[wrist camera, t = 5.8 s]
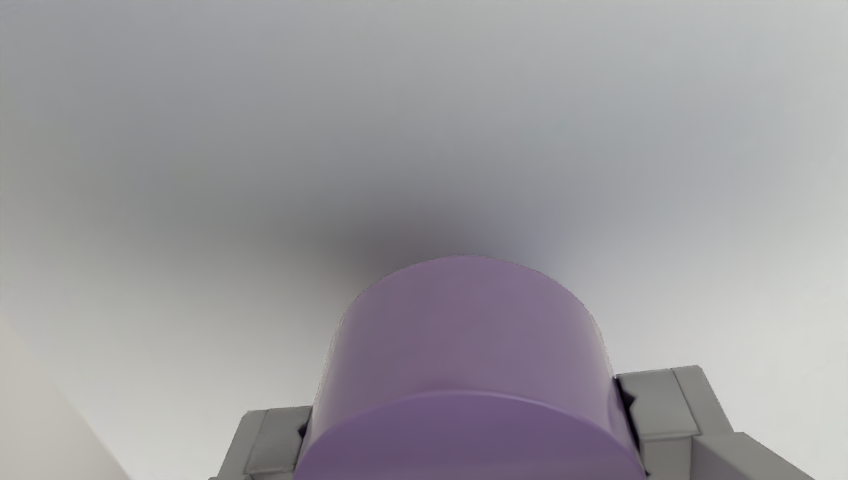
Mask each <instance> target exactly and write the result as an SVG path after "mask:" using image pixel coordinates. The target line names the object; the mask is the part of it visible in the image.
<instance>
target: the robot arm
mask: <svg viewBox="0 0 848 480" xmlns="http://www.w3.org/2000/svg"><path fill="white" fill-rule="evenodd" d="M616 382H617V385H618V388H619V391H620V395H621V398H622V401H623V404H624V407H625V410H626V413H627V416H628V420H629V423H630V426H631V429H632V432H633V436H634V439H635V442H636V445H637V448H638V451H639V455H640V458H641V461H642V464H643V467H644V470H645V473H646V477H647V480H815V479H813V478H812V477H810V476H809V475H807V474H806V473H804V472H803V471H801V470H800V469H798V468H797V467H795V466H794V465H792V464H791V463H789V462H788V461H786V460H785V459H783V458H782V457H780V456H779V455H777V454H776V453H774V452H773V451H771V450H770V449H768V448H767V447H765V446H764V445H762V444H761V443H759V442H758V441H756V440H755V439H753V438H752V437H750V436H749V435H747V434H746V433H744V432H734V430H733V428H732V427H731V425H730V423H729V421H728V419H727V417H726V415H725V413H724V411H723V409H722V407H721V405H720V403H719V401H718V399H717V397H716V395H715V393H714V391H713V390H712V388H711V386H710V384H709V382H708V380H707V378H706V376H705V374H704V372H703V370H702V368H700V367H699V366H698V365H694V366H686V367H677V368H670V369H659V370H650V371H641V372H632V373H623V374H616ZM312 408H313V406H301V407H288V408H275V409H268V410H254V411H248V412H247V413H246V414H245V415H243V417H242V419H241V421H240V424H239V426H238V428H237V431H236V433H235V435H234V438H233V440H232V443H231V445H230V447H229V450H228V452H227V454H226V457H225V459H224V462H223V464H222V466H221V469H220V471H219V473H218V476H217V477H210V478H209V479H208V480H292V479H293V474H294V471H295V467H296V464H297V460H298V457H299V453H300V450H301V446H302V443H303V439H304V436H305V432H306V429H307V425H308V422H309V418H310V415H311V411H312Z"/></svg>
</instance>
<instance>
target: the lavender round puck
mask: <svg viewBox="0 0 848 480" xmlns="http://www.w3.org/2000/svg"><path fill="white" fill-rule="evenodd" d="M292 480H647V477H646V473H645V470H644V467H643V464H642V461H641V458H640V455H639V451H638V448H637V445H636V442H635V439H634V436H633V432H632V429H631V426H630V423H629V420H628V416H627V413H626V410H625V407H624V404H623V401H622V398H621V395H620V391H619V388H618V385H617V382H616V378H615V375H614V372H613V369H612V366H611V363H610V359H609V356H608V353H607V350H606V347H605V344H604V341H603V338H602V335H601V332H600V329H599V327H598V325H597V323H596V322H595V320H594V318H593V316H592V315H591V314H590V312H589V311H588V310H587V308H586V307H585V306H584V304H583V303H582V302H581V301H580V300H579V299H578V298H577V297H575V296H574V295H573V294H572V293H571V292H570V291H569V290H567V289H566V288H565V287H563V286H562V285H560V284H559V283H558V282H556V281H555V280H553V279H551V278H549V277H547V276H545V275H544V274H542V273H540V272H538V271H535V270H533V269H530V268H527V267H525V266H522V265H519V264H515V263H511V262H508V261H504V260H499V259H495V258H491V257H484V256H476V255H457V256H447V257H442V258H436V259H432V260H429V261H425V262H421V263H417V264H414V265H411V266H408V267H405V268H402V269H400V270H398V271H396V272H394V273H391V274H389V275H387V276H386V277H384V278H382V279H381V280H379V281H377V282H376V283H374V284H373V285H371V286H370V287H369V288H368V289H367V290H365V291H364V292H363V293H362V294H360V295H359V296H358V297H357V298H356V299H355V301H354V302H353V303H352V304H351V305H350V306H349V307H348V308H347V310H346V312H345V313H344V315H343V316H342V318H341V319H340V321H339V323H338V325H337V328H336V330H335V332H334V335H333V339H332V342H331V345H330V349H329V352H328V356H327V359H326V363H325V366H324V370H323V373H322V377H321V380H320V384H319V387H318V391H317V394H316V398H315V401H314V405H313V408H312V411H311V415H310V418H309V422H308V425H307V429H306V432H305V436H304V439H303V443H302V446H301V450H300V453H299V457H298V460H297V464H296V467H295V471H294V474H293V479H292Z"/></svg>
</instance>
